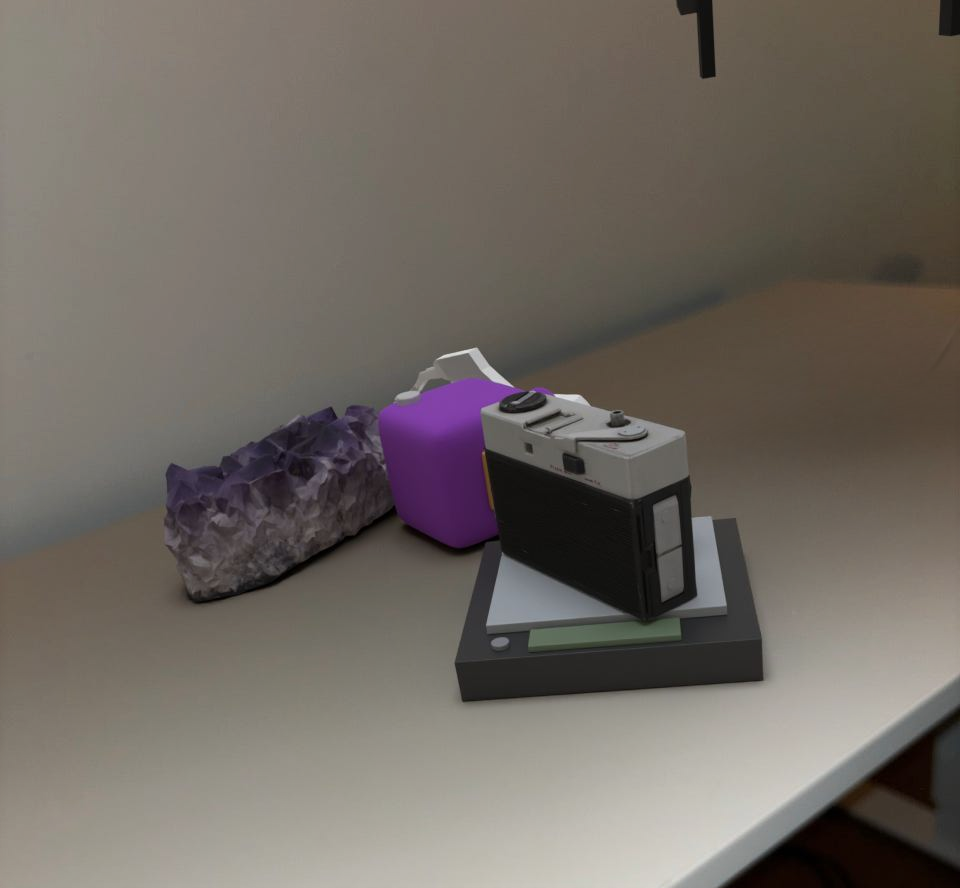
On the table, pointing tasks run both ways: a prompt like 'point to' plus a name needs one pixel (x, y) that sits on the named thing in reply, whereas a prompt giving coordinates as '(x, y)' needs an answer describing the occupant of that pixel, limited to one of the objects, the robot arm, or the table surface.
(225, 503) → the geode
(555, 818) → the table surface
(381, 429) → the toy camera
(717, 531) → the scale
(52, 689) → the table surface
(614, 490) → the camera
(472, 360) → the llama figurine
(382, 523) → the table surface
